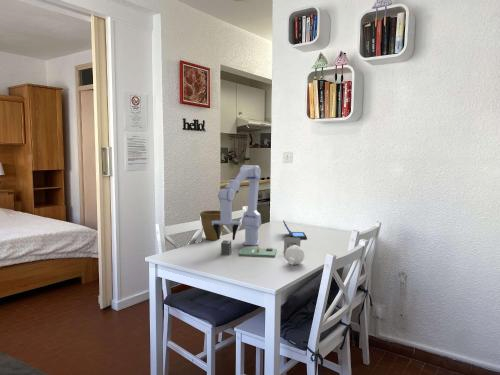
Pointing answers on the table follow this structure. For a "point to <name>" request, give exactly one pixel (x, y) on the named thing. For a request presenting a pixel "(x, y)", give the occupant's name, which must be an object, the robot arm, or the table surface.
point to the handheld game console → (296, 233)
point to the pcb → (258, 252)
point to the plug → (226, 247)
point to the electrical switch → (291, 242)
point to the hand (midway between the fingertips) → (226, 239)
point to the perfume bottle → (294, 254)
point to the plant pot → (210, 223)
